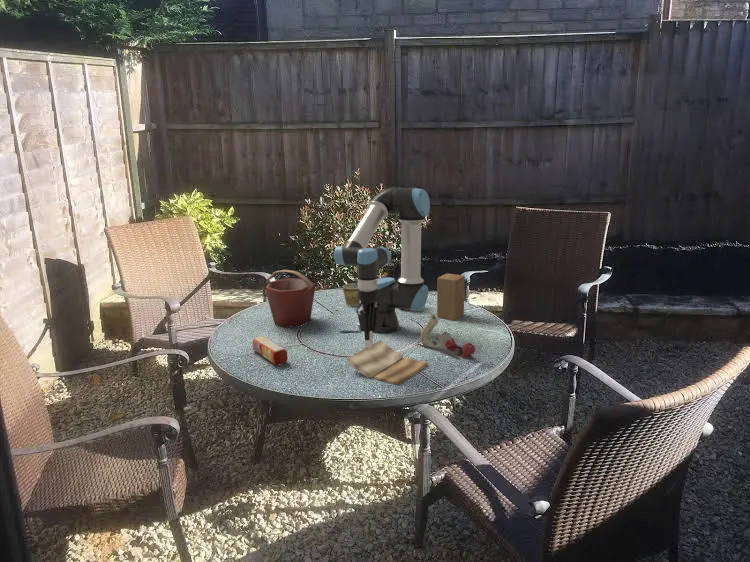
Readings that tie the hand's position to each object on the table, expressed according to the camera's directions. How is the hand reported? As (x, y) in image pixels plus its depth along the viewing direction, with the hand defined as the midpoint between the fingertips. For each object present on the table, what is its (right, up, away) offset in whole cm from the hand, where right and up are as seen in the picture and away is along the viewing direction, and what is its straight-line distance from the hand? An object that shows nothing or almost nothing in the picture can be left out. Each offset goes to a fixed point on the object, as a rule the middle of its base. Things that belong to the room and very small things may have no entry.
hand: (368, 346), depth 247 cm
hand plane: (+32, -4, +15) cm, 36 cm away
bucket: (-37, +6, +57) cm, 68 cm away
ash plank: (+3, -6, 0) cm, 6 cm away
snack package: (-41, -6, +13) cm, 44 cm away
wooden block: (+39, +8, +60) cm, 72 cm away
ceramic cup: (-8, +14, +82) cm, 84 cm away
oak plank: (+13, -10, -6) cm, 17 cm away
